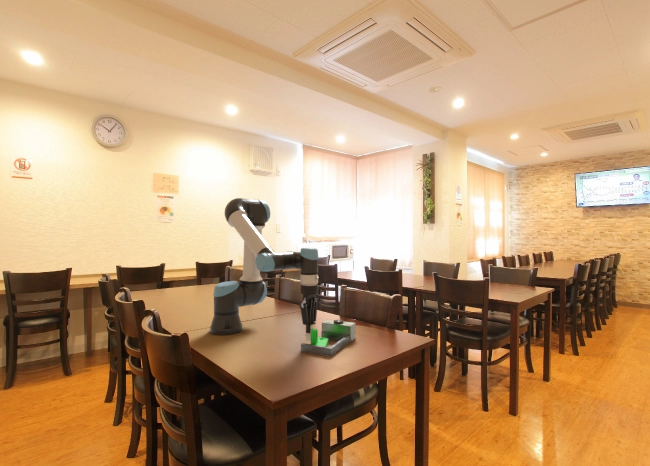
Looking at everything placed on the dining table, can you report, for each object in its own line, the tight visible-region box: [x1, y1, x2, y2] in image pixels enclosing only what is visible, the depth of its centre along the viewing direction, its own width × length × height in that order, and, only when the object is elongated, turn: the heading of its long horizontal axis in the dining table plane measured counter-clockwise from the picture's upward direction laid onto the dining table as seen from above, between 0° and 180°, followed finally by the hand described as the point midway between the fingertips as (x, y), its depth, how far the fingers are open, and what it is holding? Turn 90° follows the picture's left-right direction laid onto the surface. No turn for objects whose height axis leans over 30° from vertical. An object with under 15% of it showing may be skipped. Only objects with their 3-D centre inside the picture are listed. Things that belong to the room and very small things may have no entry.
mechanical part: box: [310, 328, 329, 347], centre depth 143 cm, size 12×6×8 cm, turn 172°
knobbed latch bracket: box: [300, 319, 357, 357], centre depth 144 cm, size 14×25×8 cm, turn 154°
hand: (309, 339), depth 144 cm, fingers closed
